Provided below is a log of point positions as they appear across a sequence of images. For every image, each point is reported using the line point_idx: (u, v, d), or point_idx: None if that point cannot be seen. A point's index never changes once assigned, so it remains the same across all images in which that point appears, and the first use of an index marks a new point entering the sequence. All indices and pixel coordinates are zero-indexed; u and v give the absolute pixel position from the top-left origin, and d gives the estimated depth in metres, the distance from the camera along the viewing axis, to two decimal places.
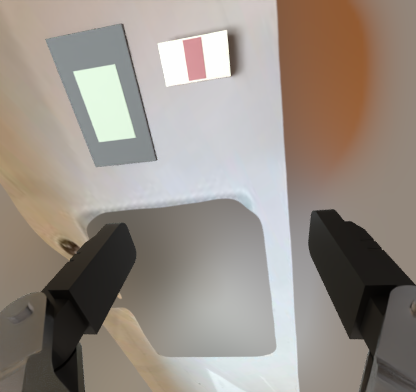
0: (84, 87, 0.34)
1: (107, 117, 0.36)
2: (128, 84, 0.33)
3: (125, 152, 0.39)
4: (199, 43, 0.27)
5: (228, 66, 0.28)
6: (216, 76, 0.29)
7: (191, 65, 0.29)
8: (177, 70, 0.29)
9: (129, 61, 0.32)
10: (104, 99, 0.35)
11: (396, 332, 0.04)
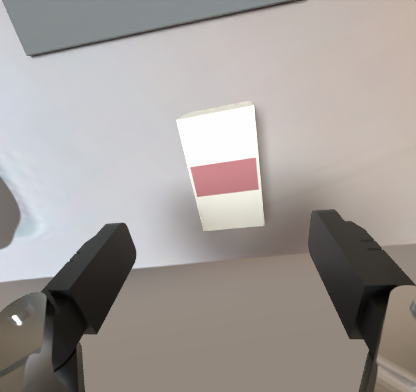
0: None
1: None
2: None
3: None
4: (248, 186, 0.15)
5: (216, 228, 0.18)
6: (201, 211, 0.17)
7: (216, 172, 0.15)
8: (207, 145, 0.14)
9: (233, 7, 0.14)
10: None
11: (396, 332, 0.04)
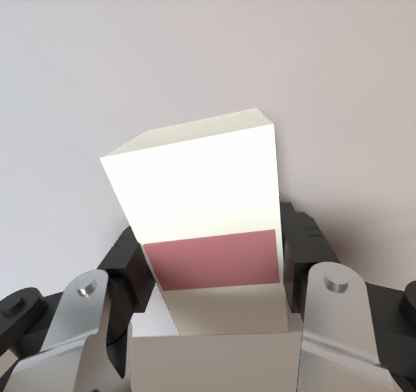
0: None
1: None
2: None
3: None
4: (260, 278, 0.08)
5: (202, 332, 0.10)
6: (173, 310, 0.09)
7: (194, 252, 0.08)
8: (172, 206, 0.07)
9: None
10: None
11: (315, 305, 0.05)
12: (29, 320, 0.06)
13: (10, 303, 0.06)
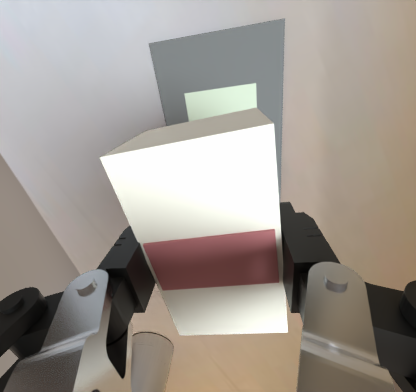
0: None
1: None
2: None
3: (208, 61, 0.20)
4: (260, 277, 0.08)
5: (201, 332, 0.10)
6: (172, 310, 0.09)
7: (194, 252, 0.08)
8: (172, 205, 0.07)
9: None
10: None
11: (315, 305, 0.05)
12: (29, 320, 0.06)
13: (10, 303, 0.06)
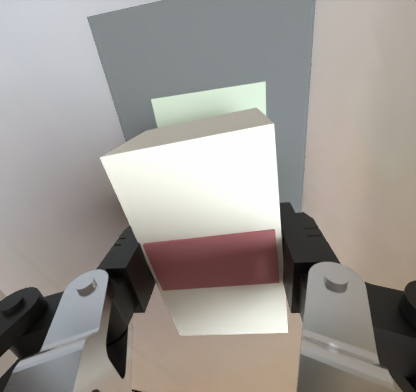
0: None
1: None
2: None
3: (186, 45, 0.12)
4: (260, 277, 0.08)
5: (201, 332, 0.10)
6: (172, 310, 0.09)
7: (194, 252, 0.08)
8: (172, 205, 0.07)
9: None
10: None
11: (315, 305, 0.05)
12: (29, 320, 0.06)
13: (10, 303, 0.06)
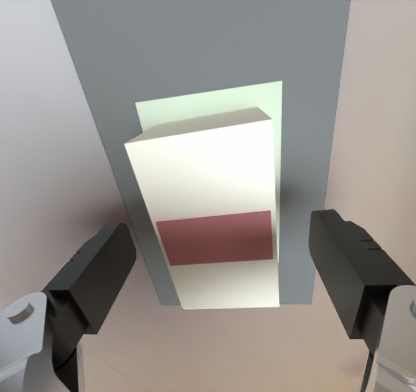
0: None
1: None
2: (154, 233, 0.14)
3: (179, 33, 0.09)
4: (256, 254, 0.09)
5: (202, 306, 0.11)
6: (177, 285, 0.11)
7: (200, 230, 0.09)
8: (184, 188, 0.08)
9: (149, 266, 0.16)
10: None
11: (396, 332, 0.04)
12: None
13: None
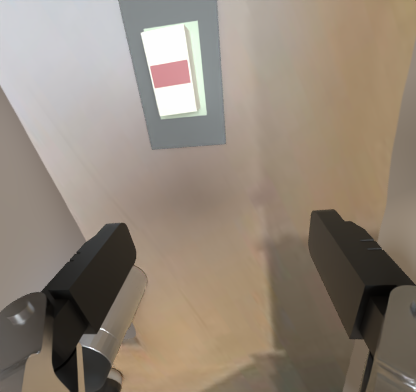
0: None
1: None
2: (149, 98, 0.31)
3: (160, 1, 0.26)
4: (184, 80, 0.26)
5: (167, 113, 0.28)
6: (157, 100, 0.27)
7: (165, 70, 0.26)
8: (159, 50, 0.25)
9: (146, 120, 0.33)
10: None
11: (396, 332, 0.04)
12: None
13: None
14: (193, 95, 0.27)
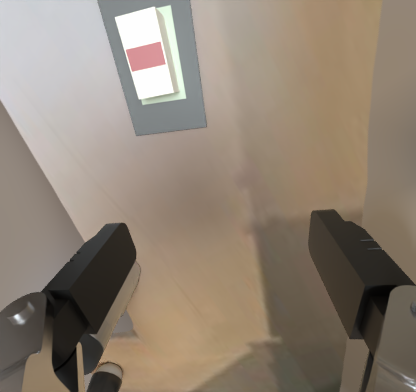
0: None
1: None
2: (130, 85, 0.32)
3: None
4: (160, 62, 0.27)
5: (146, 96, 0.29)
6: (135, 83, 0.28)
7: (140, 52, 0.27)
8: (133, 33, 0.26)
9: (129, 107, 0.34)
10: None
11: (396, 332, 0.04)
12: None
13: None
14: (169, 77, 0.28)
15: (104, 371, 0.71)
